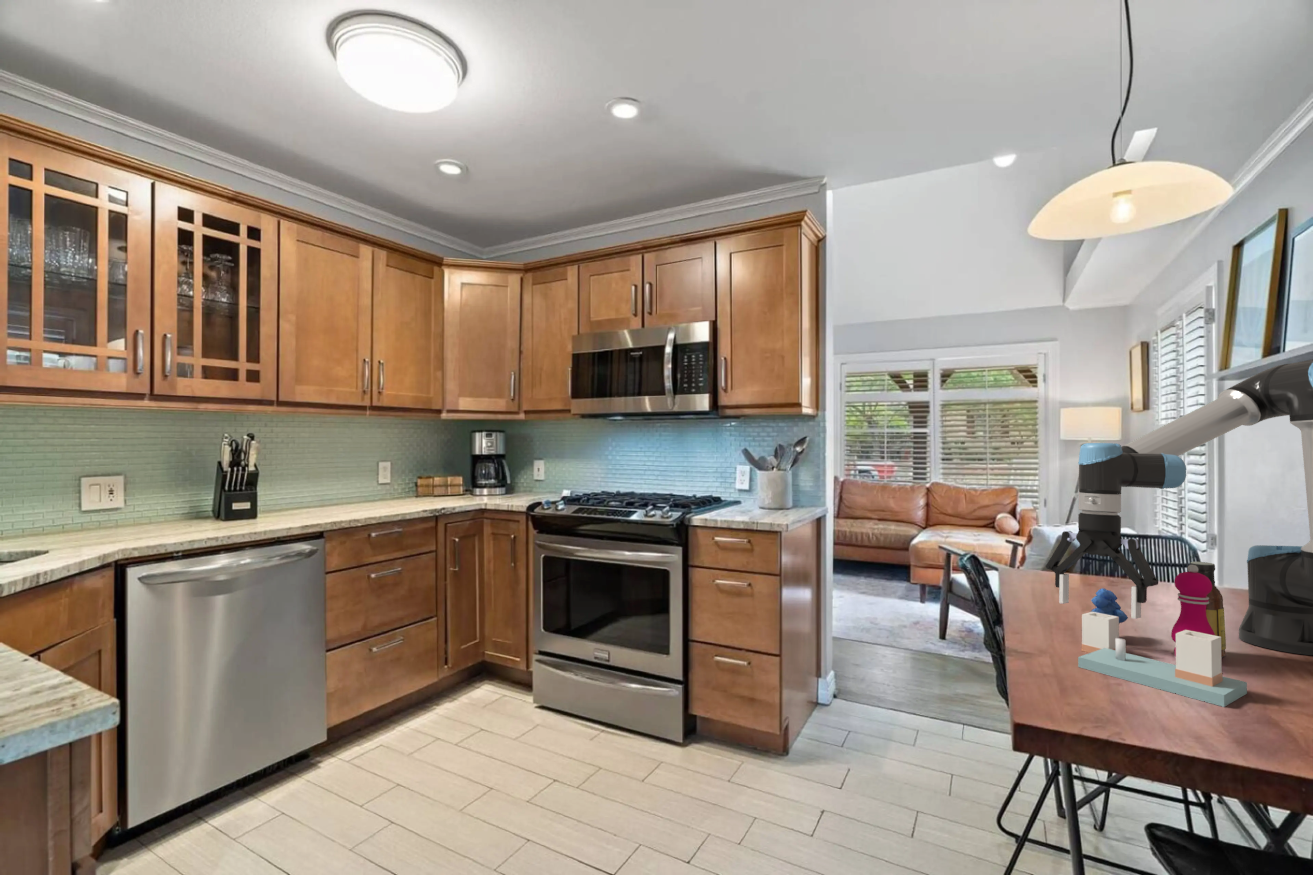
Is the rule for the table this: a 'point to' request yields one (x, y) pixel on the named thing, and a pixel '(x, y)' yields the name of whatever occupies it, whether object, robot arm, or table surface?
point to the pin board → (1158, 675)
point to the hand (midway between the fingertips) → (1098, 610)
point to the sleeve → (1099, 631)
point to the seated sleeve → (1198, 657)
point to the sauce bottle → (1214, 604)
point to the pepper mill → (1192, 602)
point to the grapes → (1108, 604)
